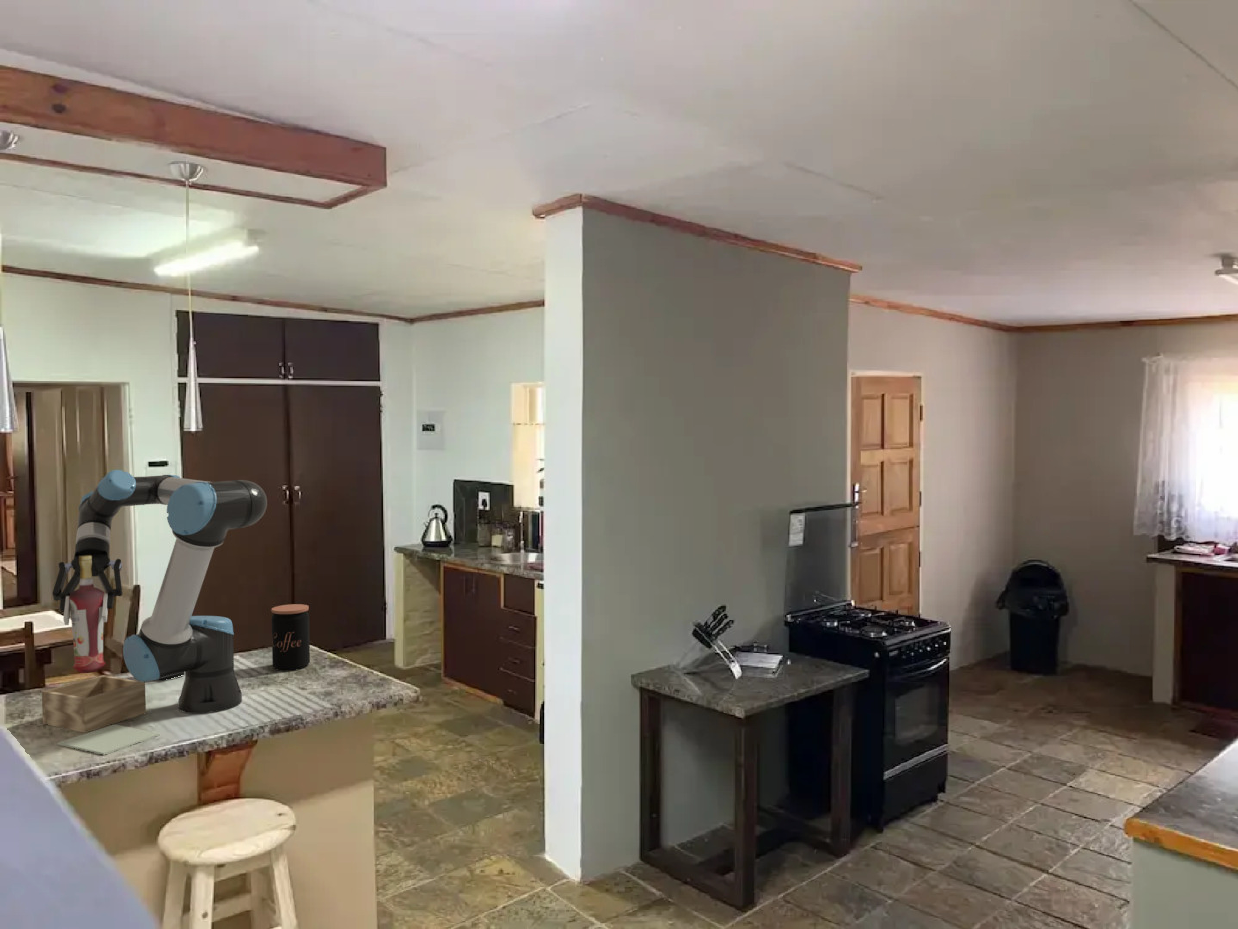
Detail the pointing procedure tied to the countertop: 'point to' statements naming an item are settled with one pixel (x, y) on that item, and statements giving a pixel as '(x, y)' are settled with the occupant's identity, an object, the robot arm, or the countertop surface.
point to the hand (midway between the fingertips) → (85, 620)
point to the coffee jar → (290, 637)
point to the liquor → (87, 621)
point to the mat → (108, 739)
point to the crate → (93, 703)
